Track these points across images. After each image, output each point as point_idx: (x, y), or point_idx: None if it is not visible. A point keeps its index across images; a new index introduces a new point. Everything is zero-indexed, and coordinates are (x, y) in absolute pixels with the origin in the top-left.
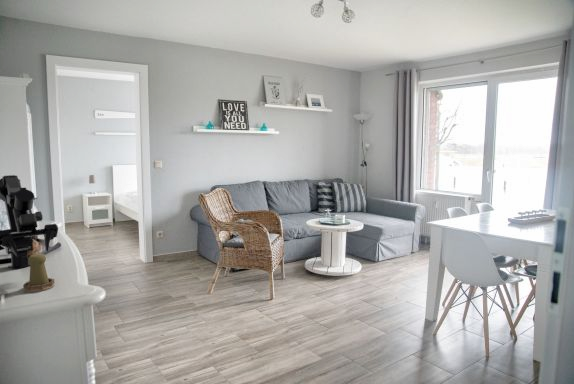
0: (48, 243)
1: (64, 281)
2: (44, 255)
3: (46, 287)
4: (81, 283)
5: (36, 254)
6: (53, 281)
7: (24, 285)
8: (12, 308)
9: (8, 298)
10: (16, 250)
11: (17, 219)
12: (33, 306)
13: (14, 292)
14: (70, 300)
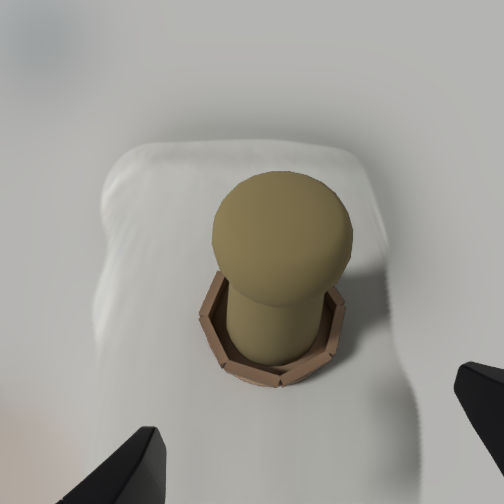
0: (92, 477)
1: (154, 354)
2: (220, 207)
3: None
4: (111, 273)
5: (287, 197)
6: (206, 300)
7: (339, 295)
8: (344, 161)
9: (379, 250)
10: (499, 376)
11: None
12: (291, 147)
13: (373, 316)
14: (198, 142)
